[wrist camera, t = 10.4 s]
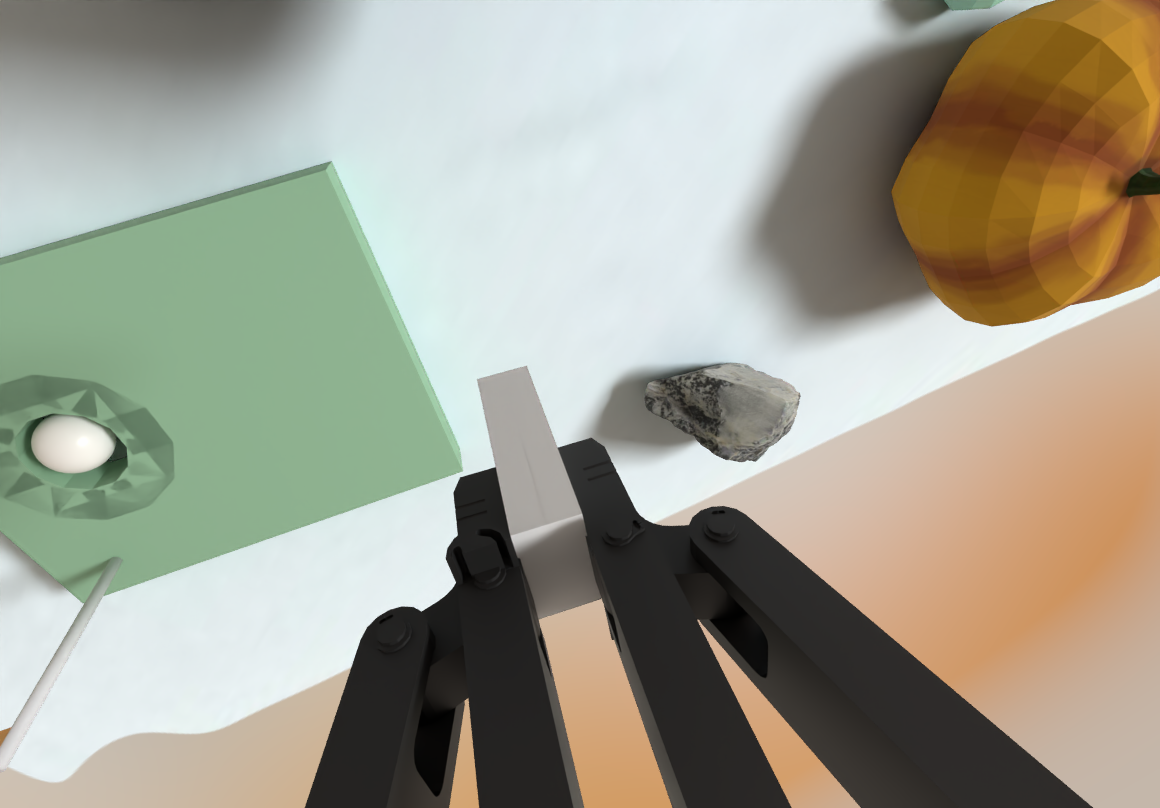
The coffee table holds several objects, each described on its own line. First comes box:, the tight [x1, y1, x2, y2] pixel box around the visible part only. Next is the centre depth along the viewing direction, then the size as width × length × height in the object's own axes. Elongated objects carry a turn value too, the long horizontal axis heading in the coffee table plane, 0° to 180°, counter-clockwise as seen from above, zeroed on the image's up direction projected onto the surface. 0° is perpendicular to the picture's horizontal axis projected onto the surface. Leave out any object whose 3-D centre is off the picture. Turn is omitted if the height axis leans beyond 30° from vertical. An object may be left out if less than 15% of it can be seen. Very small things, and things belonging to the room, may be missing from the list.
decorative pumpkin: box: [891, 0, 1160, 326], centre depth 38 cm, size 20×22×15 cm
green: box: [0, 161, 463, 772], centre depth 31 cm, size 28×22×17 cm
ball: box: [31, 414, 116, 474], centre depth 36 cm, size 4×4×4 cm
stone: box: [645, 363, 800, 462], centre depth 46 cm, size 10×10×10 cm
